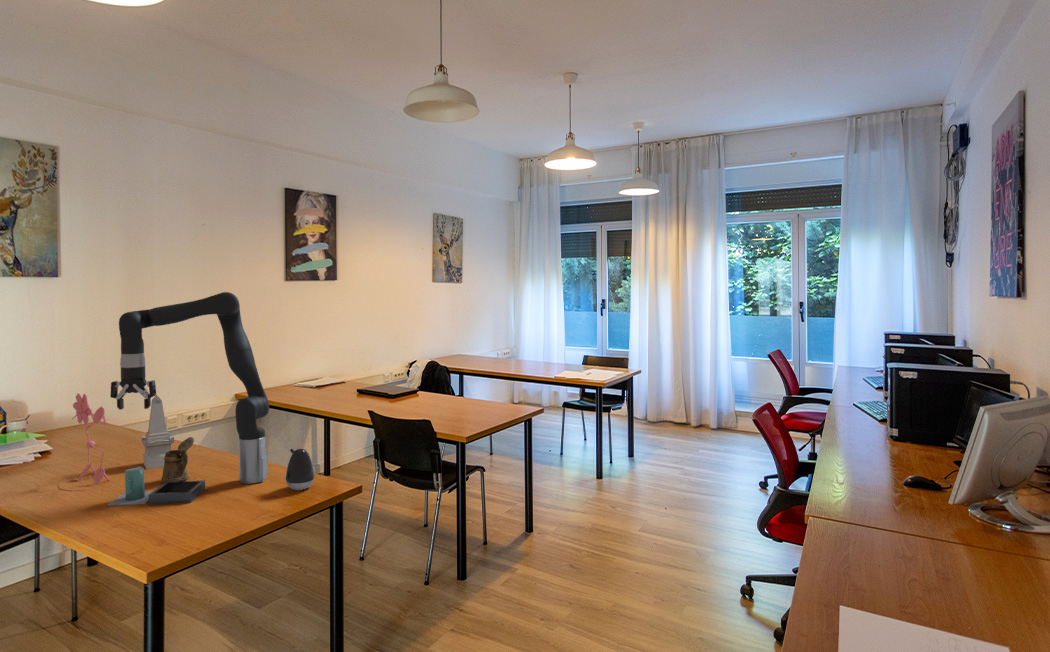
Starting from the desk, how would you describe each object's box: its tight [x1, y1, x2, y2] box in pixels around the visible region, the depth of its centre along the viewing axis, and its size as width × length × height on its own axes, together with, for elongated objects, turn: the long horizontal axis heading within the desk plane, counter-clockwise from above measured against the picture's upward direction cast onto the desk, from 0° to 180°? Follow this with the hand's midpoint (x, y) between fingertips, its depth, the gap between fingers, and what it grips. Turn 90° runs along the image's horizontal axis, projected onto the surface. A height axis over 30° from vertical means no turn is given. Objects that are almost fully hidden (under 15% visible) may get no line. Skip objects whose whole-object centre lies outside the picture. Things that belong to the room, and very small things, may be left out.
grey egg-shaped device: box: [285, 448, 316, 491], centre depth 211 cm, size 10×10×15 cm
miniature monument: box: [140, 394, 175, 470], centre depth 238 cm, size 10×10×30 cm
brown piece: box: [160, 436, 195, 484], centre depth 218 cm, size 9×14×18 cm, turn 69°
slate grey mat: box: [106, 491, 153, 507], centre depth 198 cm, size 12×12×1 cm
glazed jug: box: [124, 466, 146, 500], centre depth 198 cm, size 9×6×10 cm, turn 9°
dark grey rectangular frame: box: [148, 479, 206, 506], centre depth 201 cm, size 13×13×4 cm
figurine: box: [59, 393, 110, 492], centre depth 212 cm, size 15×26×35 cm, turn 59°
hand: (134, 408), depth 208 cm, fingers open, 8 cm apart
